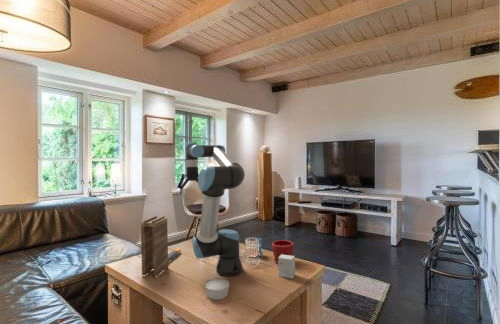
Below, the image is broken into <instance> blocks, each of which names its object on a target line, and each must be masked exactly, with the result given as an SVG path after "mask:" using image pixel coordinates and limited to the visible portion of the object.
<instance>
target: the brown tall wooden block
mask: <svg viewBox="0 0 500 324" xmlns="http://www.w3.org/2000/svg"><path fill="white" fill-rule="evenodd" d="M168 233H169V232H168V217H166V216H165V215H162V216H161V217H158V216H157V215H154V216H152V217H150V218H147V219H144V220H143V221H142V222H140V237H141V238H140V240H141V241H140V242H141V243H140V244H141V246H140V247H141V248H140V249H141V251H140V252H141V276H142V275H146V274H147V273H149V272H150V271H151V270H152V269H154V270H153V277H154V276H158V275H159V274H160V273H161V272H162V271H163V270H165V269H166V268H167V267H168V268H169V263H168V254H169V249H168V248H169V247H168V246H169V245H168V244H169V241H168V235H169V234H168ZM168 268H167V269H168ZM167 269H166V270H167ZM166 270H165V271H166ZM149 274H150V273H149ZM159 276H160V275H159ZM159 276H158V277H159Z"/></svg>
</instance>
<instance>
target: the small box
mask: <svg viewBox="0 0 500 324" xmlns="http://www.w3.org/2000/svg"><path fill="white" fill-rule="evenodd" d="M295 258H296V257H295V255H292V256H290V255H283V254H281V255H280V256H279V258H278V263H277V265H278V266H277V267H278V277H280V278H285V279H286V278H287V279H294V277H295V276H296V259H295Z"/></svg>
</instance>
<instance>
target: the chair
mask: <svg viewBox="0 0 500 324" xmlns="http://www.w3.org/2000/svg"><path fill="white" fill-rule="evenodd" d="M252 238H257V239H256V240H258V241H259V242H257V244H259V252H258V253H260V256H261V257H263V251H262V243H261V242H262V238H259V237H256V236H254V237H252ZM261 257H260V258H261Z"/></svg>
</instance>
